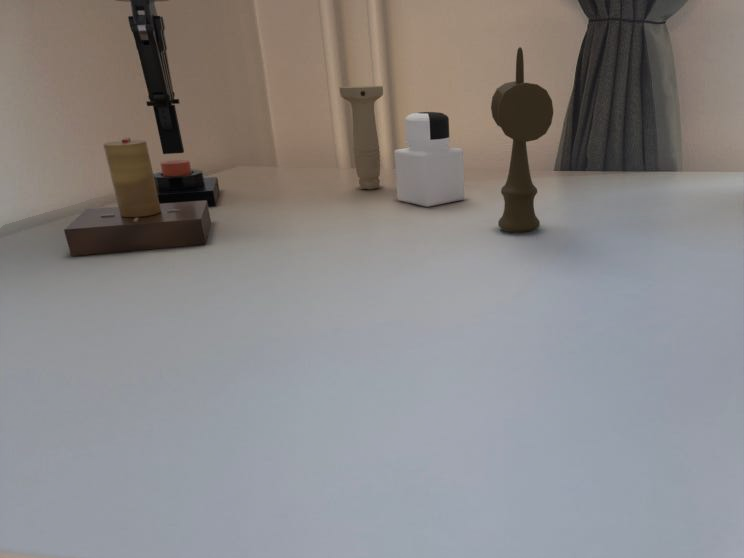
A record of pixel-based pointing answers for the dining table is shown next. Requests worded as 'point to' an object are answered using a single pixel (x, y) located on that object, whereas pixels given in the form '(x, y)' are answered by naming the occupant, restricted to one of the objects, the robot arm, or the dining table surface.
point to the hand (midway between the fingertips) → (173, 152)
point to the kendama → (520, 144)
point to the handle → (365, 133)
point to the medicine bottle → (429, 162)
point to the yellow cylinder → (132, 177)
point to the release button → (176, 167)
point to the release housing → (187, 188)
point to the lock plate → (138, 229)
